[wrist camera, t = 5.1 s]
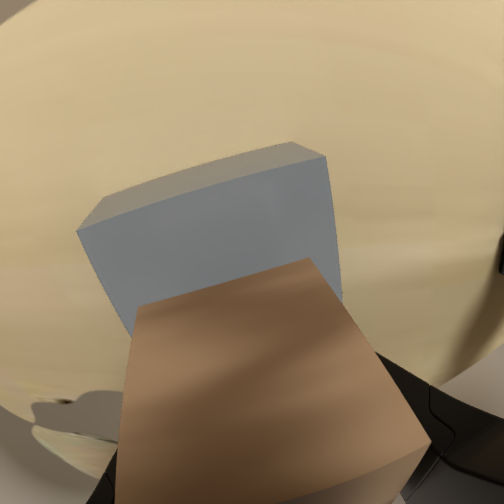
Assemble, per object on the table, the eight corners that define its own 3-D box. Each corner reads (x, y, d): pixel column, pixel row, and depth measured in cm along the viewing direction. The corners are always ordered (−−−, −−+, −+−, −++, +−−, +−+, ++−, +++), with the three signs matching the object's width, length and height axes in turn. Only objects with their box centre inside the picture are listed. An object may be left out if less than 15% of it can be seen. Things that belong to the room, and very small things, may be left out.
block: (309, 257, 9) (431, 441, 3) (324, 369, 11) (388, 508, 6) (137, 306, 8) (114, 518, 3) (196, 405, 11) (214, 554, 6)
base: (291, 141, 14) (325, 156, 10) (317, 297, 18) (344, 343, 14) (103, 197, 13) (76, 230, 10) (168, 340, 18) (167, 393, 14)
